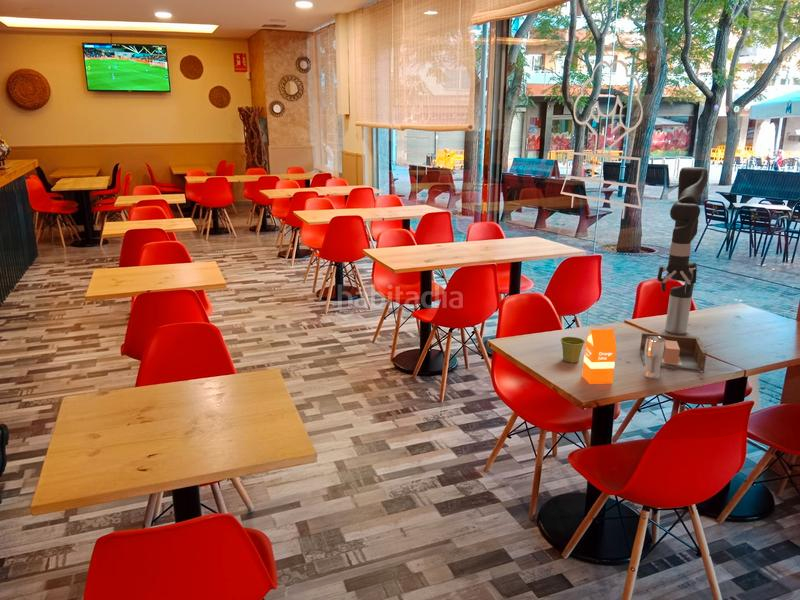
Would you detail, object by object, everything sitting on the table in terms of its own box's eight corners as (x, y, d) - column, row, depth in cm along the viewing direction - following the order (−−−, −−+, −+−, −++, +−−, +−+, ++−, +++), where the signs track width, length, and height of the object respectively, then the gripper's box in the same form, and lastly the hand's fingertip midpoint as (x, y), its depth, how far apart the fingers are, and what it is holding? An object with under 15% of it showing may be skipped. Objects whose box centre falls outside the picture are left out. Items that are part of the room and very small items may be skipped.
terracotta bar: (677, 363, 244) (679, 349, 242) (664, 362, 245) (666, 348, 244) (674, 354, 253) (676, 341, 252) (661, 353, 255) (663, 339, 253)
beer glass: (646, 370, 240) (651, 334, 236) (664, 375, 235) (669, 338, 231) (638, 375, 235) (642, 338, 231) (656, 380, 231) (661, 343, 226)
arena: (639, 350, 262) (642, 332, 259) (696, 355, 256) (698, 337, 253) (643, 365, 245) (645, 346, 243) (703, 372, 239) (706, 352, 237)
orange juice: (612, 383, 228) (618, 332, 222) (589, 384, 227) (594, 332, 222) (604, 375, 236) (609, 325, 230) (581, 375, 235) (586, 326, 229)
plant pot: (555, 356, 254) (557, 336, 251) (577, 355, 255) (579, 336, 252) (563, 365, 245) (565, 344, 242) (586, 364, 246) (588, 344, 243)
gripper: (661, 254, 245) (657, 293, 249) (700, 256, 241) (695, 295, 246) (659, 250, 251) (655, 288, 256) (697, 252, 248) (692, 290, 253)
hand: (674, 292), depth 251 cm, fingers open, 8 cm apart
